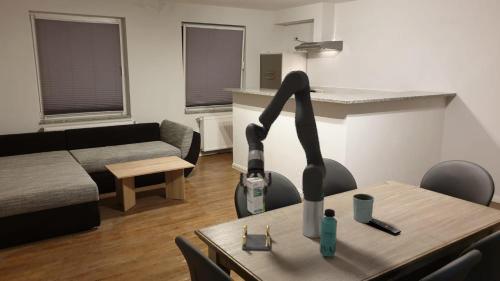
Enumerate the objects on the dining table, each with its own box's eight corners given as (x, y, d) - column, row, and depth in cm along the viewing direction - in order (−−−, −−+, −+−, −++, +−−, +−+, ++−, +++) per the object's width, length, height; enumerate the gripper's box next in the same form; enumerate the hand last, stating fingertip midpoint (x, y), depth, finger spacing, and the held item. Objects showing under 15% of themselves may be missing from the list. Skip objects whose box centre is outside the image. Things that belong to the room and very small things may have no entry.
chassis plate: (270, 237, 168) (270, 225, 167) (270, 250, 157) (270, 237, 155) (243, 236, 169) (243, 225, 168) (242, 249, 157) (242, 237, 156)
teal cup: (373, 224, 181) (375, 201, 179) (352, 222, 183) (353, 199, 181) (371, 216, 191) (372, 194, 189) (351, 214, 193) (352, 192, 191)
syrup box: (253, 214, 157) (252, 181, 154) (247, 209, 162) (246, 178, 160) (264, 211, 160) (264, 179, 157) (258, 207, 165) (258, 176, 162)
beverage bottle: (317, 252, 155) (319, 207, 150) (333, 251, 155) (335, 206, 151) (321, 260, 148) (323, 213, 144) (337, 259, 149) (340, 213, 145)
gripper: (239, 158, 164) (238, 191, 155) (271, 157, 164) (272, 191, 155) (240, 166, 171) (239, 199, 162) (271, 166, 170) (272, 199, 161)
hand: (255, 195), depth 158 cm, fingers closed on syrup box, 7 cm apart
